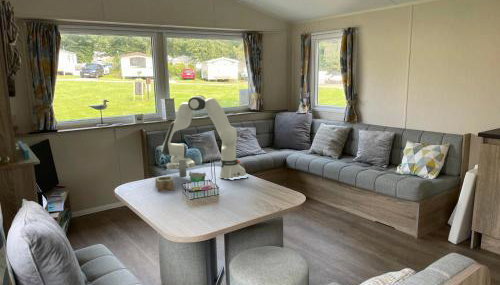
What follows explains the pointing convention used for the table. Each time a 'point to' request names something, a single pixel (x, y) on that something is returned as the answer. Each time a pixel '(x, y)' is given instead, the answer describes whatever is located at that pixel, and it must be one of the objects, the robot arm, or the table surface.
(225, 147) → the robot arm
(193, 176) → the food container
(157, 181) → the walnut holder
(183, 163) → the slate grey canister
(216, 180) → the table surface
